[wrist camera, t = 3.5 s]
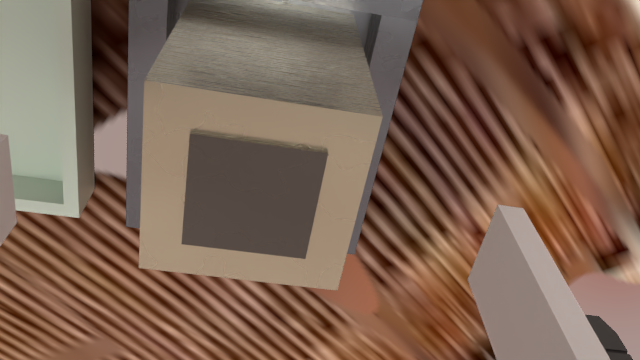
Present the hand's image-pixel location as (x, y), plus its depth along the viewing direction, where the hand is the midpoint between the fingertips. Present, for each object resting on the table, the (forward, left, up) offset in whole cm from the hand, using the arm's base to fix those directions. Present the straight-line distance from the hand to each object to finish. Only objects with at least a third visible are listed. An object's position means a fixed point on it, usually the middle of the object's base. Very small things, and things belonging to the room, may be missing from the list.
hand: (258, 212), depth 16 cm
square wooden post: (0, 0, -9) cm, 9 cm away
